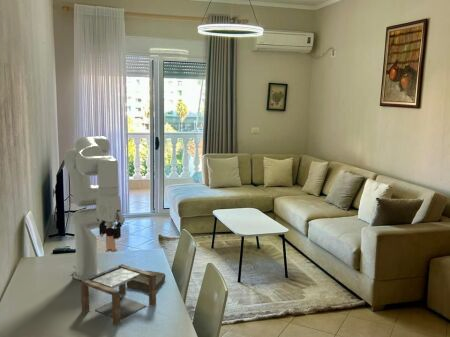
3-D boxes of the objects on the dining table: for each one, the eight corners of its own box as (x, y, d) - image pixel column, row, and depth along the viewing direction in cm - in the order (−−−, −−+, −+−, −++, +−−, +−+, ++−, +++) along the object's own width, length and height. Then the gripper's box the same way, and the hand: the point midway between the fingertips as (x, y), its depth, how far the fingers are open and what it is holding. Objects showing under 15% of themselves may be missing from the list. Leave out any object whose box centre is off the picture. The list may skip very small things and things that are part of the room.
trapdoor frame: (81, 311, 167) (80, 280, 165) (122, 292, 184) (121, 264, 182) (116, 326, 156) (115, 293, 154) (156, 304, 173) (155, 274, 172)
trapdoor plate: (87, 281, 167) (87, 278, 167) (117, 269, 180) (117, 266, 180) (111, 289, 160) (110, 286, 160) (139, 276, 172) (139, 273, 172)
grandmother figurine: (121, 249, 168) (120, 218, 166) (118, 252, 164) (117, 220, 162) (102, 248, 168) (101, 217, 166) (98, 251, 164) (97, 219, 162)
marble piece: (154, 295, 183) (153, 285, 182) (122, 291, 186) (121, 282, 185) (168, 279, 199) (167, 271, 198) (138, 276, 202) (138, 268, 201)
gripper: (86, 189, 164) (87, 234, 167) (116, 195, 154) (117, 242, 157) (101, 186, 171) (103, 229, 173) (132, 192, 161) (133, 237, 163)
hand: (110, 235), depth 165 cm, fingers closed on grandmother figurine, 7 cm apart
